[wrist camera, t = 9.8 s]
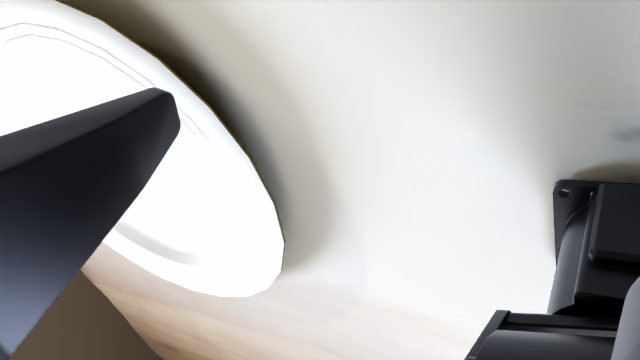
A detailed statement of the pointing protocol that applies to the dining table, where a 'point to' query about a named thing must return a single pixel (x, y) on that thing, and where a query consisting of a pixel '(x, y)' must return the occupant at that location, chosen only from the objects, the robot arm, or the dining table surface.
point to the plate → (174, 170)
